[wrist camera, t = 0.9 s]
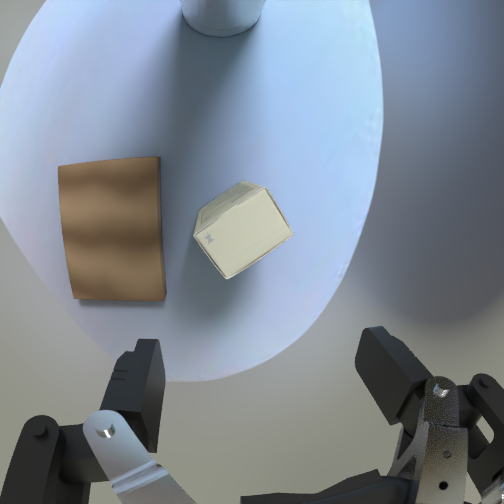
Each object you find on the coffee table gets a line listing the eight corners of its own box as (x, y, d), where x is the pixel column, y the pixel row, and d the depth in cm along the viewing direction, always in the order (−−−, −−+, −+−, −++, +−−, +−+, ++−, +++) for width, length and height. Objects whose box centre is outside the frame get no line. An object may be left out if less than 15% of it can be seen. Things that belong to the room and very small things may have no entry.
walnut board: (65, 165, 27) (57, 166, 26) (160, 156, 29) (156, 156, 27) (79, 292, 32) (73, 298, 30) (166, 293, 34) (164, 300, 32)
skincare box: (219, 241, 33) (223, 284, 21) (197, 209, 31) (187, 237, 20) (267, 209, 32) (297, 236, 21) (246, 177, 31) (265, 185, 19)
